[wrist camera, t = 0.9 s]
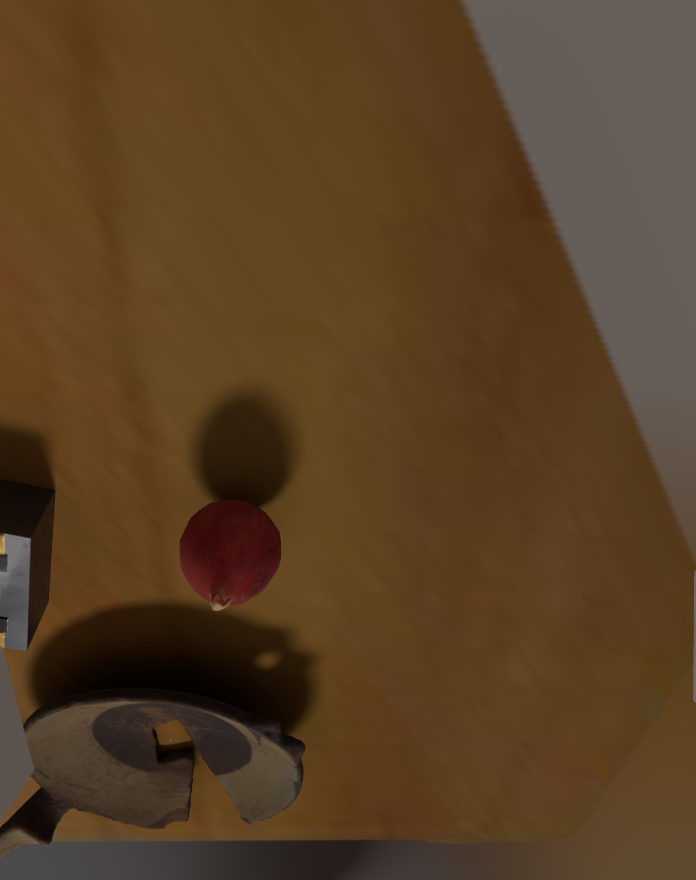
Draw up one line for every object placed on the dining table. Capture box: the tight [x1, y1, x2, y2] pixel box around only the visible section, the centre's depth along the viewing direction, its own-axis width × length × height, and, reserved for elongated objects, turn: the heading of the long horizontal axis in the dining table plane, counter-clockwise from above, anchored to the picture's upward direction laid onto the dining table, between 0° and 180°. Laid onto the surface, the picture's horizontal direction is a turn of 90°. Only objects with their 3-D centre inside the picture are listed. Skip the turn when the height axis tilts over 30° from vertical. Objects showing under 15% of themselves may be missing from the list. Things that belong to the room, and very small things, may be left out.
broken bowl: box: [0, 688, 305, 858], centre depth 52 cm, size 22×30×8 cm
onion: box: [180, 499, 281, 611], centre depth 37 cm, size 6×6×8 cm
